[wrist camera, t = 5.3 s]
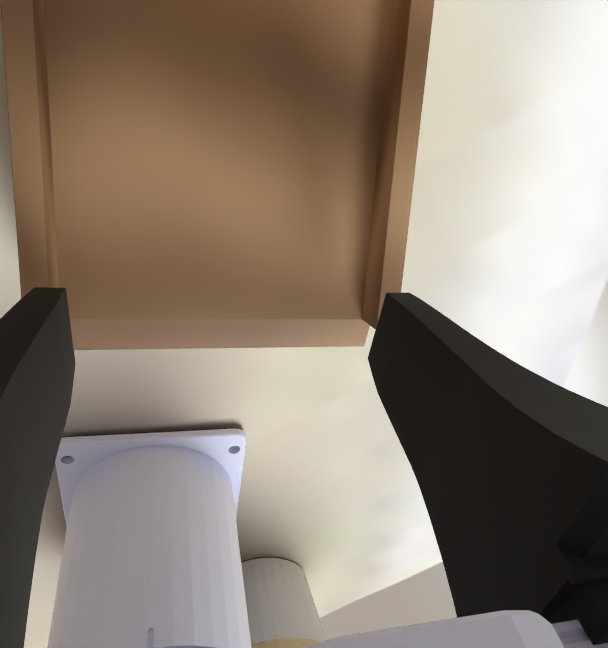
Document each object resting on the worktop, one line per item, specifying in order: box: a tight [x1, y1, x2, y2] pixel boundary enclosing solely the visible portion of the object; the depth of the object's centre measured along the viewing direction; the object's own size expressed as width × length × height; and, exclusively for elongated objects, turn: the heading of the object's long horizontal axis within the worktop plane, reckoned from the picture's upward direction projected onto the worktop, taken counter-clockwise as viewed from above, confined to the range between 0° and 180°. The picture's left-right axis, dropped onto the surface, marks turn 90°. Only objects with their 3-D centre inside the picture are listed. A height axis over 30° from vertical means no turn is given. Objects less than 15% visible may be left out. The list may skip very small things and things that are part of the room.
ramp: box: [0, 0, 434, 350], centre depth 14 cm, size 14×10×7 cm
